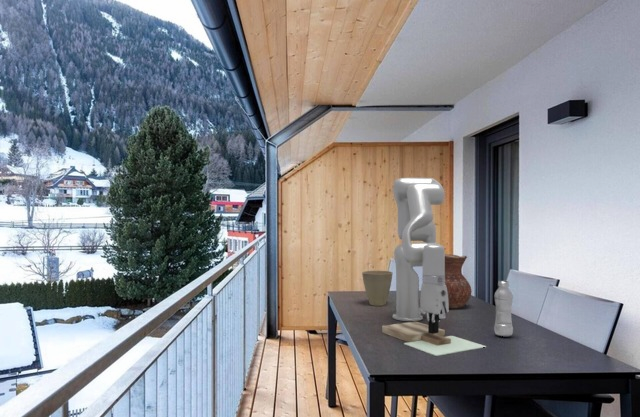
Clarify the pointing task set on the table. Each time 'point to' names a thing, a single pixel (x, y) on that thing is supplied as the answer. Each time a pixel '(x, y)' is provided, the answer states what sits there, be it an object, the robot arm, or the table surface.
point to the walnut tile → (436, 339)
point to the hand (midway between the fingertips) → (433, 332)
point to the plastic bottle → (503, 310)
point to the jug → (456, 281)
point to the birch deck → (409, 331)
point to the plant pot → (377, 286)
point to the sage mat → (445, 346)
